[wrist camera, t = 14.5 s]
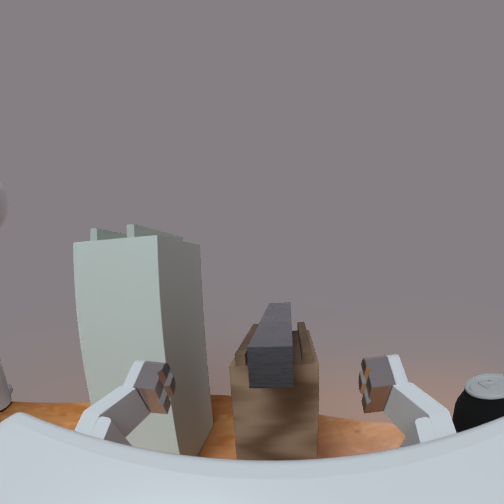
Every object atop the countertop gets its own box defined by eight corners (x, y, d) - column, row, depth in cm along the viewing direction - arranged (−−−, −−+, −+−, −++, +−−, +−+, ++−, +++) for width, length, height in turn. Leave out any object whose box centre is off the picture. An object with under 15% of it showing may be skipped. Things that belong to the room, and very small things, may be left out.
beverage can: (446, 519, 14) (484, 407, 14) (423, 483, 20) (445, 381, 21) (499, 494, 13) (537, 385, 14) (472, 466, 19) (497, 366, 20)
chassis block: (241, 500, 22) (228, 354, 23) (255, 438, 35) (249, 324, 36) (314, 499, 22) (318, 351, 22) (308, 437, 35) (308, 321, 35)
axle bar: (249, 388, 18) (246, 347, 18) (270, 323, 41) (269, 303, 41) (293, 387, 18) (292, 346, 18) (291, 322, 41) (290, 302, 41)
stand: (107, 463, 27) (73, 231, 28) (151, 418, 41) (133, 241, 42) (184, 479, 26) (156, 221, 27) (213, 424, 40) (199, 236, 41)
